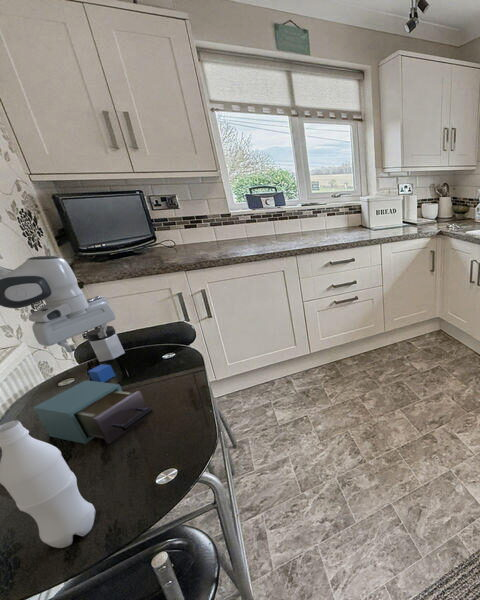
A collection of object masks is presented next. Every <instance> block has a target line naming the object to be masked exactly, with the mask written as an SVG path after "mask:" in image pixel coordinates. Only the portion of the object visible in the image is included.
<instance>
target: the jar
mask: <svg viewBox="0 0 480 600" xmlns="http://www.w3.org/2000/svg"><path fill="white" fill-rule="evenodd" d="M98 333H100V327H96V328H93V329H90V330H88V331H87V332H86V333H85V336H86V337H85V338H86V339H87V341H88V342H89V345H90V346H91V348H92V350H93V352H94V355H95V357H96V359H97V360H98V362H99V363H101V362H106V361H111V360H114V359H116V358H119V357H120V356H122V355H124V354H126V352H125V350H124V348H123V345H122V343H121V341H120V339H119V337H118V334H117V332H116V329H115V327H114V326H112V325H107V328H106V334H107V337H104V338H99V335H98Z"/></svg>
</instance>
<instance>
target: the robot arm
mask: <svg viewBox="0 0 480 600" xmlns="http://www.w3.org/2000/svg"><path fill="white" fill-rule="evenodd" d="M41 301H44V303H45V304H44V305H43V306H42V307H41V308H39V309H37V310H36V311H34V312H32V313H31V314H29V316H28V318H29V320H30V321H31V322H33V324H32V327H31V329H32V332H33V335H34V337H35V340H36V341H37V344H38V345H41V346H44V347H51V346H54V345H56V344H57V345H58V346H59V347H61V348H64V349H65V352H66V353H69V354H70V353H73V352H75V351H76V350H77V349H76V347H75V345H73V344H72V345H71V344H70V345H68V344H67V343H68V341H67V340H68V339H69V340H70V339H71V338H73V337H77V336H78V335H80V334H83V333H85V332H86V333H87V332H89V331H91V330H94V329H96V328H100V333H98V335H99V338H104V337H107V334H106V328H107V326H108V325H107V323H110V322H113V321H114V320H116V317H117V315H116V313H115V312H114V310H113V308H112V307H111V306H110V302H109V300H108V299H107V297H105V296H103V295H101V296H100V295H97V296H94V297H91V298H88V299H87V297H86V296H85V293H84V292H83V290H82V289H81V288H80V287H79V285H78V278H77V276H76V275H75V273H74V271H73V269H72V268H71V266H70V265H69V263H68V262H67V261H66V260H65V259H64V258H62V257H59V256H56V255H39V256H32V257H28V258H26V260H25V261H24V262H23V263H21V264H20V265H19V266H17V267H16V268H15V269H12V268H11V269H10V268H6V267H2V266H0V306H1V307H4V308H7V309H22V308H26V307H29V306H31V305H32V306H33V305H34V304H36V303H38V302H41Z"/></svg>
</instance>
